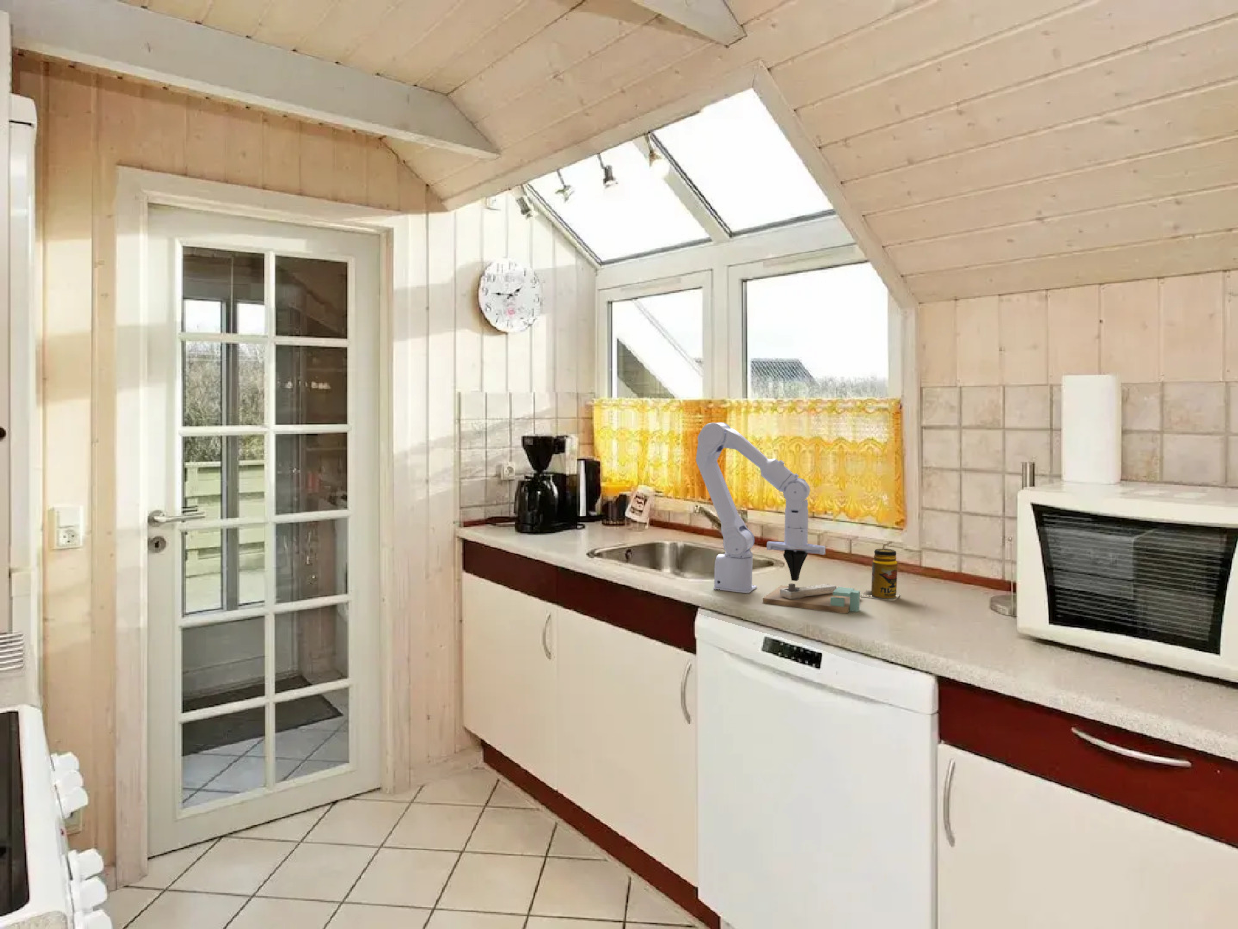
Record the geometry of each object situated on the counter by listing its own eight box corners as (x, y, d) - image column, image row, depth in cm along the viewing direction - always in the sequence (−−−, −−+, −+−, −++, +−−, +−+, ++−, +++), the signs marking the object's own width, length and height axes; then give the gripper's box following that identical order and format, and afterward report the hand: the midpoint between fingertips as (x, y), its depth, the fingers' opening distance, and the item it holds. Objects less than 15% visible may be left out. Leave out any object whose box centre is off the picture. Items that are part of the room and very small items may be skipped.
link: (790, 599, 189) (790, 592, 188) (779, 595, 192) (779, 589, 192) (837, 592, 195) (837, 586, 195) (826, 589, 199) (826, 583, 199)
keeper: (830, 610, 184) (830, 591, 184) (835, 604, 189) (836, 586, 189) (856, 613, 181) (856, 594, 181) (860, 608, 187) (861, 589, 186)
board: (762, 602, 190) (763, 584, 190) (780, 589, 205) (781, 572, 204) (846, 613, 181) (847, 594, 181) (859, 599, 196) (860, 581, 195)
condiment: (894, 601, 194) (896, 553, 193) (859, 597, 198) (861, 550, 197) (900, 595, 200) (902, 549, 199) (866, 591, 204) (867, 545, 203)
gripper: (763, 526, 198) (762, 580, 199) (821, 531, 191) (820, 586, 192) (771, 523, 204) (770, 575, 205) (827, 527, 198) (826, 580, 199)
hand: (795, 580), depth 199 cm, fingers closed
